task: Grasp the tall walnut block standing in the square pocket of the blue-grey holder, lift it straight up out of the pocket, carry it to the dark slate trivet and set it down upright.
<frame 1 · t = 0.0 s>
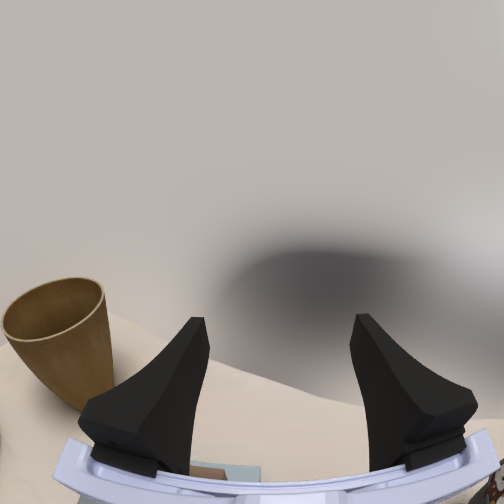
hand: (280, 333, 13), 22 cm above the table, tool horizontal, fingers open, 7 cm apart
plant pot: (93, 395, 32), on the table
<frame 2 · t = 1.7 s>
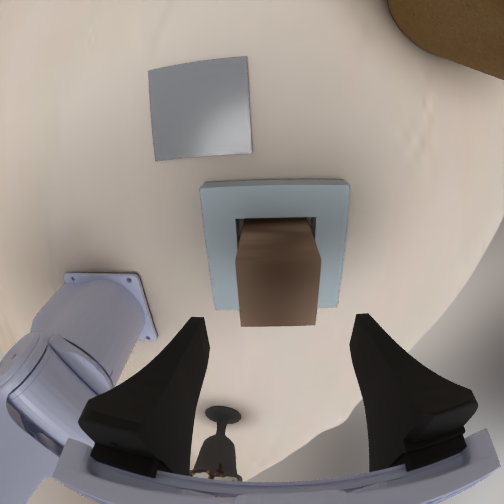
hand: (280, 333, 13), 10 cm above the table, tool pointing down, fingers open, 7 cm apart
sundae: (223, 413, 34), on the table
pocket holder: (275, 243, 22), on the table
slate trivet: (199, 108, 17), on the table
walnut block: (275, 243, 22), resting in pocket holder
plant pot: (426, 19, 12), on the table
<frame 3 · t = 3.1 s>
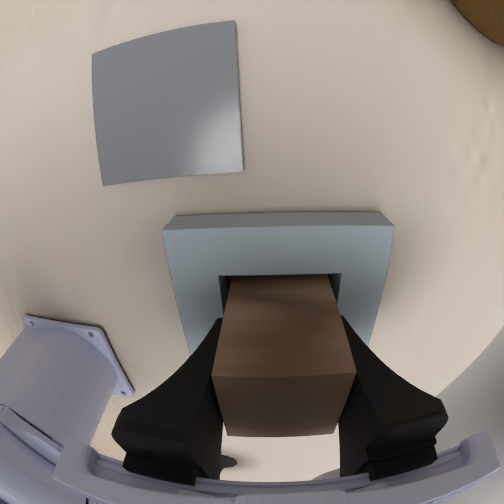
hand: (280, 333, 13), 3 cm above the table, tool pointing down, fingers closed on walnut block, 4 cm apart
sundae: (217, 459, 27), on the table
pocket holder: (279, 300, 15), on the table
slate trivet: (161, 103, 11), on the table
walnut block: (279, 300, 15), resting in pocket holder, touching gripper
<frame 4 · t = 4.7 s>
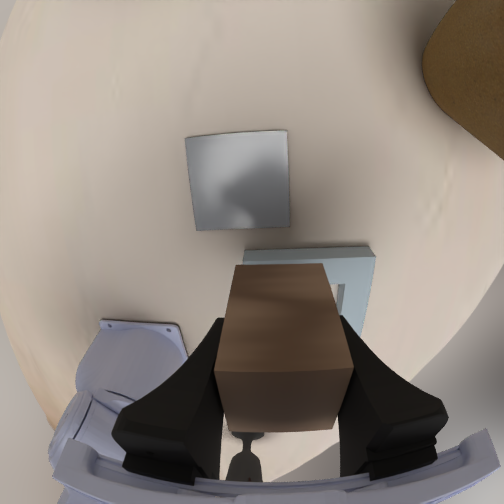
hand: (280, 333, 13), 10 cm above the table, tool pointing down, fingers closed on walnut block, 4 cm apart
sundae: (248, 431, 36), on the table
pocket holder: (306, 300, 24), on the table
slate trivet: (239, 181, 20), on the table
walnut block: (279, 299, 15), point 7 cm above the table, touching gripper
plant pot: (455, 81, 14), on the table
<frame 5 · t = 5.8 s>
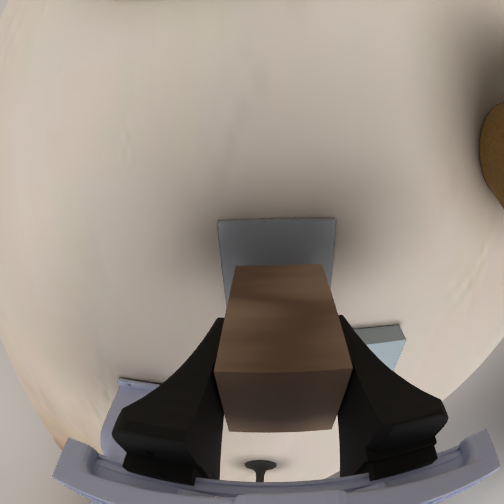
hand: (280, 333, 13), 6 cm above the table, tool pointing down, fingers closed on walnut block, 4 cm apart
sundae: (260, 463, 34), on the table
pocket holder: (332, 370, 22), on the table
slate trivet: (277, 270, 18), on the table
walnut block: (279, 300, 15), point 3 cm above the table, touching gripper
when the fingers open (4 cm above the table, at t = 6.7 s): walnut block stays where it is, resting on slate trivet.
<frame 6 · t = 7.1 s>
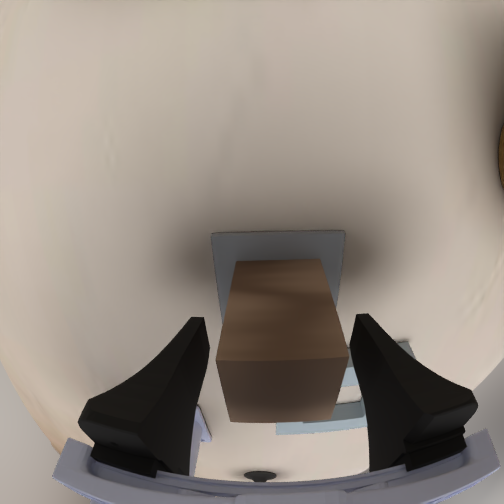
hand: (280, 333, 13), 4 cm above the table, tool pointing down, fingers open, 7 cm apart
sundae: (260, 474, 33), on the table
pocket holder: (336, 388, 21), on the table
slate trivet: (278, 287, 16), on the table
walnut block: (278, 294, 16), resting on slate trivet
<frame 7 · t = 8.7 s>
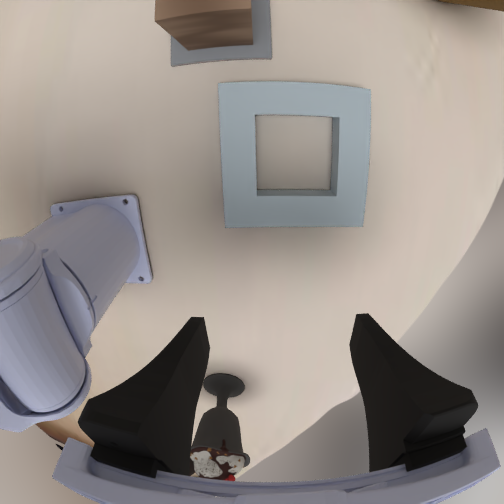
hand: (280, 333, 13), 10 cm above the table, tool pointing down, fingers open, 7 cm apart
sundae: (224, 384, 31), on the table
pocket holder: (294, 152, 19), on the table
slate trivet: (220, 19, 14), on the table
walnut block: (219, 20, 14), resting on slate trivet
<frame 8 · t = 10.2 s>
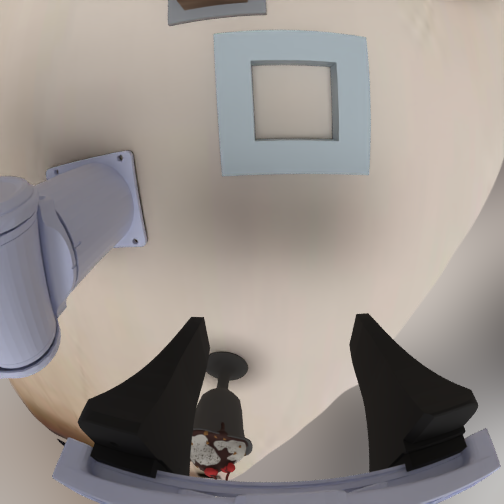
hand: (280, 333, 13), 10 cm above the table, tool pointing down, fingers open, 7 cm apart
sundae: (225, 364, 29), on the table
pocket holder: (293, 101, 17), on the table
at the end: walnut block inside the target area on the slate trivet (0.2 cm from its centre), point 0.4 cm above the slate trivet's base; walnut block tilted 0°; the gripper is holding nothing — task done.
